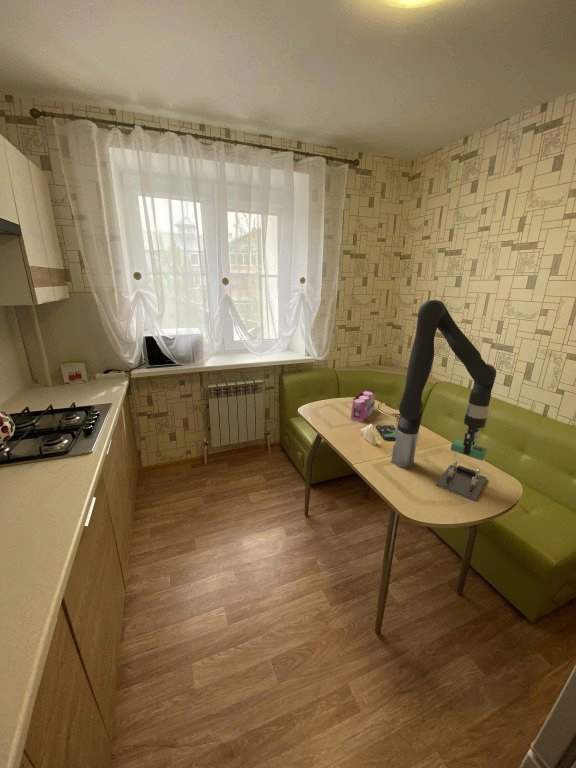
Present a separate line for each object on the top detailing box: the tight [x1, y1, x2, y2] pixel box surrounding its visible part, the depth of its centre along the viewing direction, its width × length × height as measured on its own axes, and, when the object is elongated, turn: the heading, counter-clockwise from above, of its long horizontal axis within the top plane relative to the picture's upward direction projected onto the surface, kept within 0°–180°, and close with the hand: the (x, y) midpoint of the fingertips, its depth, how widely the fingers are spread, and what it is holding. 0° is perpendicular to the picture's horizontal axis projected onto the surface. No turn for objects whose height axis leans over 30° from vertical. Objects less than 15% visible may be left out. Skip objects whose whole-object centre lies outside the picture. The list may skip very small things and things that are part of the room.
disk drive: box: [375, 424, 397, 441], centre depth 178 cm, size 10×3×15 cm
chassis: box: [435, 460, 488, 502], centre depth 135 cm, size 15×20×6 cm
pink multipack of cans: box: [350, 389, 377, 423], centre depth 202 cm, size 24×8×14 cm, turn 147°
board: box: [450, 439, 488, 461], centre depth 131 cm, size 12×6×3 cm, turn 48°
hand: (468, 451), depth 131 cm, fingers closed on board, 5 cm apart
